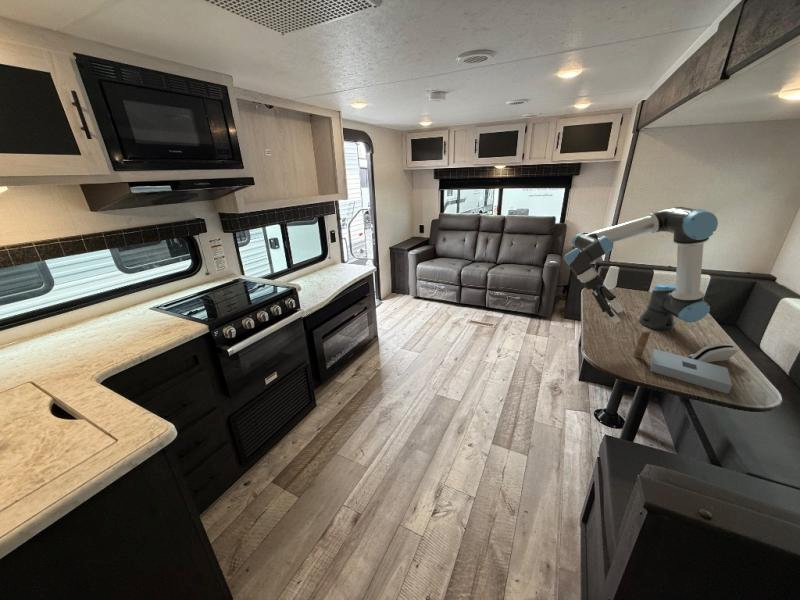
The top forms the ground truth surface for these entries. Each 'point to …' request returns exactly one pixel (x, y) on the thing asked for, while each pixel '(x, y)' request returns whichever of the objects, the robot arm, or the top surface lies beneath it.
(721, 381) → the hole block
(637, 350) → the peg
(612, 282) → the champagne flute
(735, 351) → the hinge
